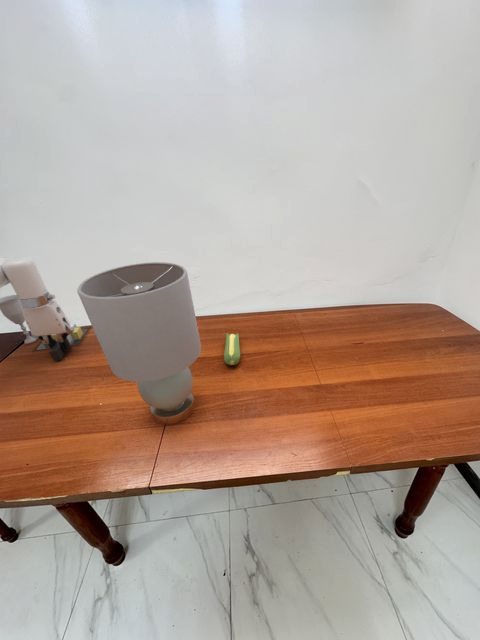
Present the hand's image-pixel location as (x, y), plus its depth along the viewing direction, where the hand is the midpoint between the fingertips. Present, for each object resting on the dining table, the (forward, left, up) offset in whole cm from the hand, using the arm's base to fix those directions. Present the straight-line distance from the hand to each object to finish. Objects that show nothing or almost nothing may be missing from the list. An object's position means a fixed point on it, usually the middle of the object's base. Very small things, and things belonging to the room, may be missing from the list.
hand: (61, 350), depth 99 cm
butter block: (-7, +11, -1) cm, 14 cm away
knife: (0, +5, -1) cm, 6 cm away
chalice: (-16, +13, -3) cm, 21 cm away
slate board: (-4, +11, -3) cm, 13 cm away
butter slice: (+1, +11, -1) cm, 12 cm away
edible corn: (+57, -12, -3) cm, 58 cm away
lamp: (+39, -35, -3) cm, 52 cm away
